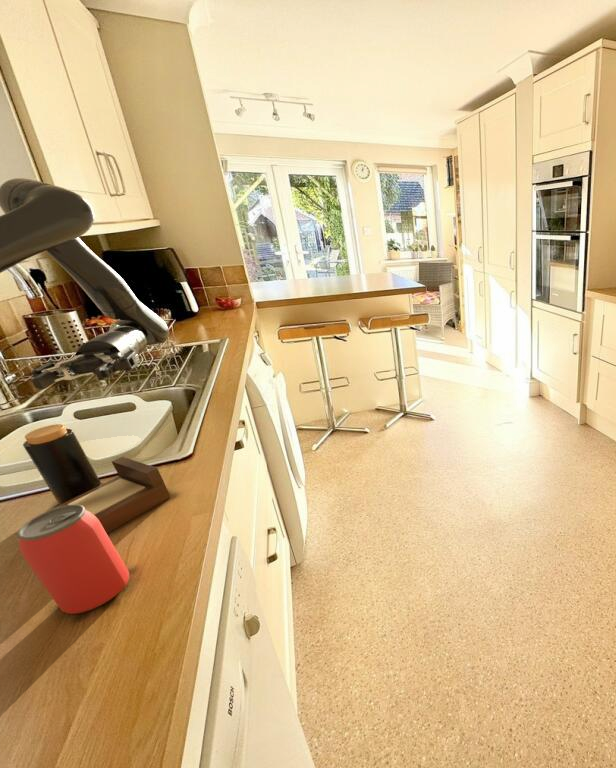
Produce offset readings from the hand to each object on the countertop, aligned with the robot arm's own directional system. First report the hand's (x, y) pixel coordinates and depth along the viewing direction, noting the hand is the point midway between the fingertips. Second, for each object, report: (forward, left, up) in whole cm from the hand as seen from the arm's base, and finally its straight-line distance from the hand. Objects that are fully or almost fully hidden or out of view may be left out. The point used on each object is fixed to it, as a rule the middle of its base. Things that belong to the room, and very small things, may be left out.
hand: (69, 379), depth 73 cm
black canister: (+8, -8, -18) cm, 21 cm away
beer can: (+35, -18, -18) cm, 43 cm away
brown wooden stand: (+18, -8, -18) cm, 26 cm away
